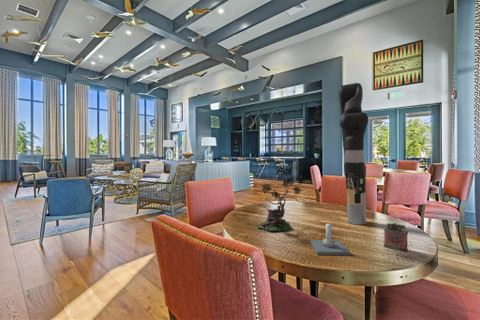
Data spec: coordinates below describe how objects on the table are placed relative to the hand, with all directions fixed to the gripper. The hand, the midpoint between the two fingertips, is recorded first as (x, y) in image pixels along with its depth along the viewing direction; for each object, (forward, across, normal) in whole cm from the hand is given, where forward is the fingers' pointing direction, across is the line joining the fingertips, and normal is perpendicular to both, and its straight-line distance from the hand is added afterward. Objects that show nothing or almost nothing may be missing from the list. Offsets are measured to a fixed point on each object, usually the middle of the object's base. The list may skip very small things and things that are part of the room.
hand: (354, 201), depth 97 cm
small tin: (+18, +4, +14) cm, 23 cm away
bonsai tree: (+18, -26, -27) cm, 42 cm away
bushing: (+1, 0, 0) cm, 1 cm away
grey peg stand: (+18, +5, -12) cm, 22 cm away
